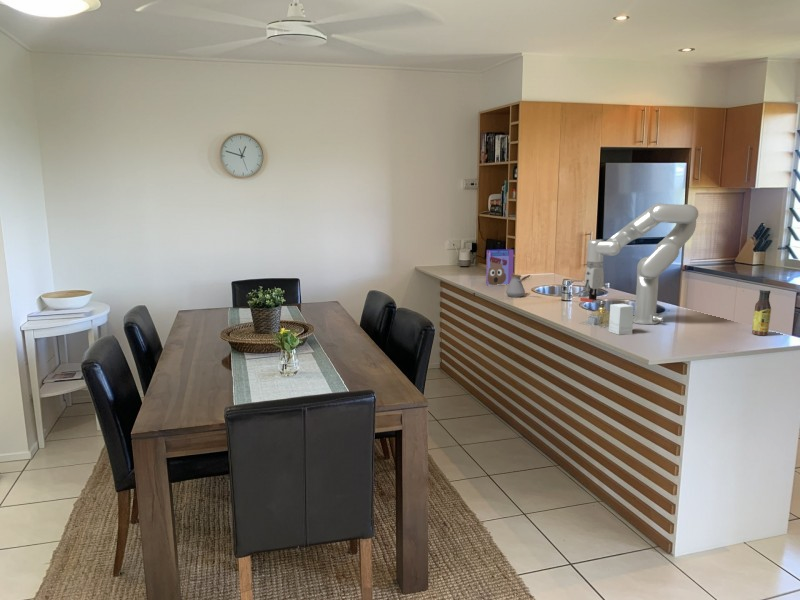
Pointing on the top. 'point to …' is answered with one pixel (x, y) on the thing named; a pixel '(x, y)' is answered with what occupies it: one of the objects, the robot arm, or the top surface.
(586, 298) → the lever
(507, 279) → the cereal box
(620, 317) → the supplement box
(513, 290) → the coffee pot
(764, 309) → the sauce bottle
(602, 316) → the valve
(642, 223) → the robot arm
